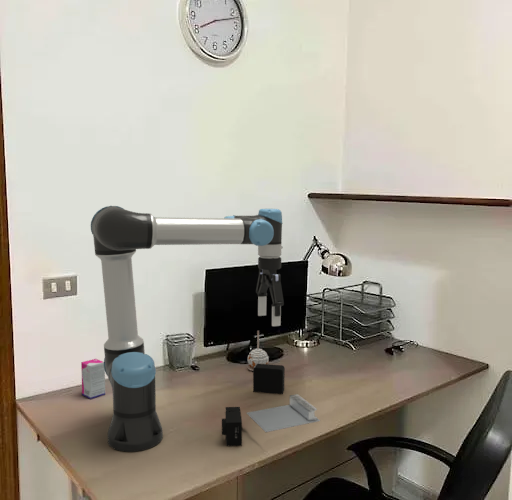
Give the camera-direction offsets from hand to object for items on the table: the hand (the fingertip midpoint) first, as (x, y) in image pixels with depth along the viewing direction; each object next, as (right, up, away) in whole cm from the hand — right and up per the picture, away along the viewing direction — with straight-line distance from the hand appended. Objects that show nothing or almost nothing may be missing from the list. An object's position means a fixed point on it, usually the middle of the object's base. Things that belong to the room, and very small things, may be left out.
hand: (268, 320), depth 182 cm
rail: (+10, -27, -12) cm, 31 cm away
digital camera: (-11, -30, -25) cm, 41 cm away
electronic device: (0, -26, +5) cm, 27 cm away
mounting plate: (+4, -29, -15) cm, 32 cm away
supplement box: (-59, -26, +5) cm, 65 cm away
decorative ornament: (-3, -23, +30) cm, 38 cm away
